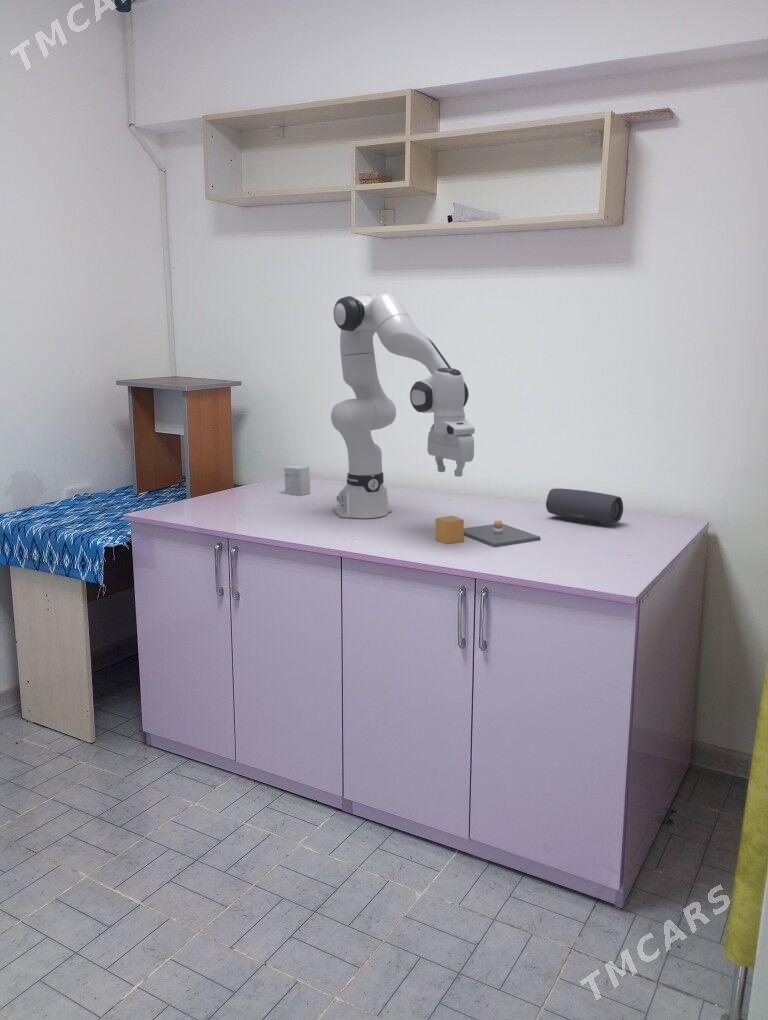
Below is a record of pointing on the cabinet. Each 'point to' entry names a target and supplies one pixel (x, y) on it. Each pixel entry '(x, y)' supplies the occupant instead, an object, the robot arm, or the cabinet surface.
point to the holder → (499, 534)
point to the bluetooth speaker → (585, 506)
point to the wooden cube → (449, 529)
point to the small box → (297, 480)
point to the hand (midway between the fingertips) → (449, 474)
